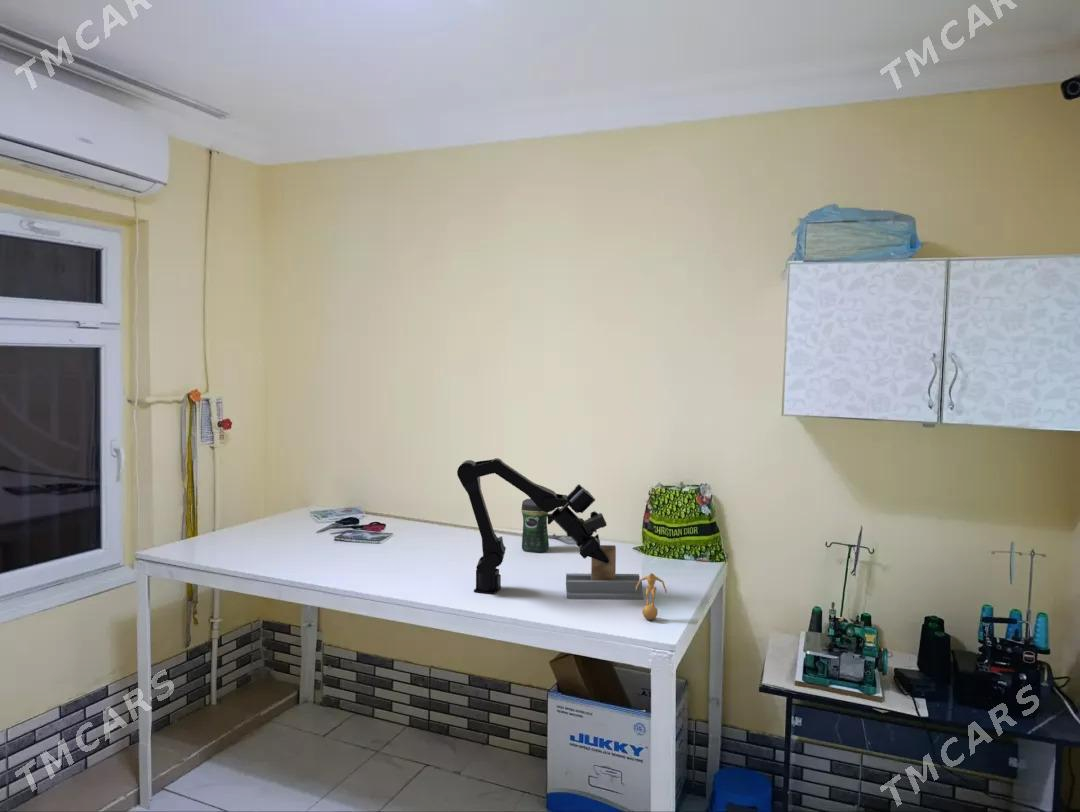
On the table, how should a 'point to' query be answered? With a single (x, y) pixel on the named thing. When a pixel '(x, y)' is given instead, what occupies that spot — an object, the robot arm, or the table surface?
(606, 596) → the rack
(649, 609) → the figurine
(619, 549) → the table surface
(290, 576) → the table surface
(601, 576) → the plaque
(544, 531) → the coffee jar
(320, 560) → the table surface
